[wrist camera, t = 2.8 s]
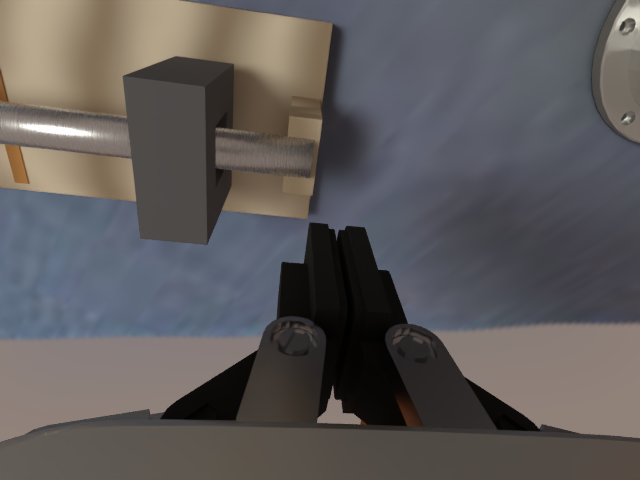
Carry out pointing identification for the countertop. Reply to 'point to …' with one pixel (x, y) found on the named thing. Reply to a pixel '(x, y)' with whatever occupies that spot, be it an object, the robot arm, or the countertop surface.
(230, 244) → the countertop surface
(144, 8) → the pipe stand
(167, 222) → the collar
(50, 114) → the pipe
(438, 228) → the countertop surface
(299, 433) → the robot arm
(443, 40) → the countertop surface
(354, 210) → the countertop surface
